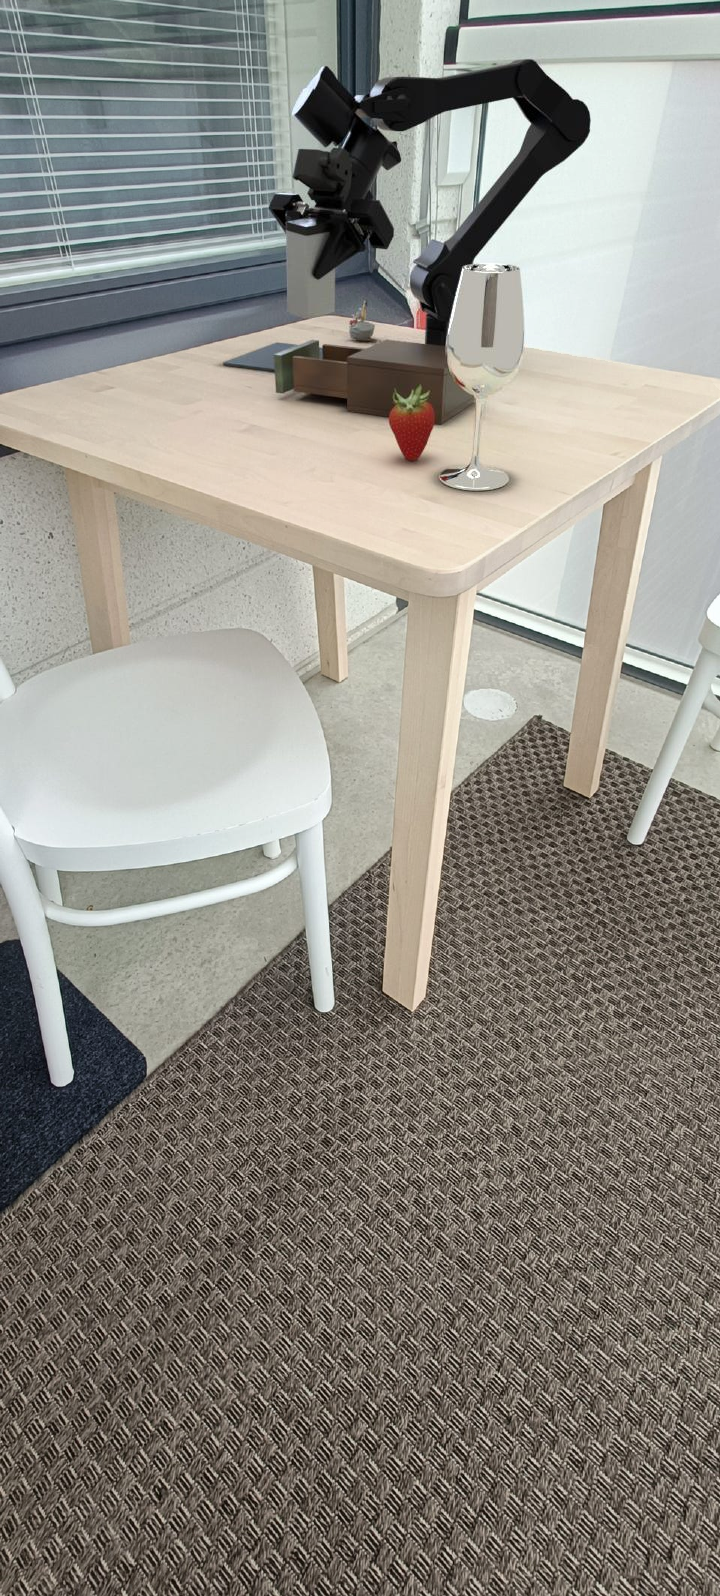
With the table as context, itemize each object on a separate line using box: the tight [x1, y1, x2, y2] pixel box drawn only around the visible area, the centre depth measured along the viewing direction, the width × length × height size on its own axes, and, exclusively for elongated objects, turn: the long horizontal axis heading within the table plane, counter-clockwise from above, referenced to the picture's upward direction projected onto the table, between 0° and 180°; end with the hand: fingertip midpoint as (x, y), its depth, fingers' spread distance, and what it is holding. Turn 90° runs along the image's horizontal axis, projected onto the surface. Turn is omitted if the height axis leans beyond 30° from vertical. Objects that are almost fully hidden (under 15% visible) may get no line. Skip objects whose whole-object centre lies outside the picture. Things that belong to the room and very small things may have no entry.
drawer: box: [274, 339, 367, 399], centre depth 120 cm, size 14×10×5 cm
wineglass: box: [438, 262, 525, 492], centre depth 89 cm, size 8×8×20 cm
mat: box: [222, 342, 323, 373], centre depth 139 cm, size 16×14×1 cm
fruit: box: [388, 384, 435, 462], centre depth 98 cm, size 5×5×8 cm
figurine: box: [348, 299, 376, 342], centre depth 148 cm, size 5×4×6 cm
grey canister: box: [285, 217, 336, 320], centre depth 120 cm, size 6×4×11 cm
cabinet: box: [346, 339, 475, 425], centre depth 116 cm, size 14×12×7 cm
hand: (303, 275), depth 120 cm, fingers closed on grey canister, 4 cm apart
